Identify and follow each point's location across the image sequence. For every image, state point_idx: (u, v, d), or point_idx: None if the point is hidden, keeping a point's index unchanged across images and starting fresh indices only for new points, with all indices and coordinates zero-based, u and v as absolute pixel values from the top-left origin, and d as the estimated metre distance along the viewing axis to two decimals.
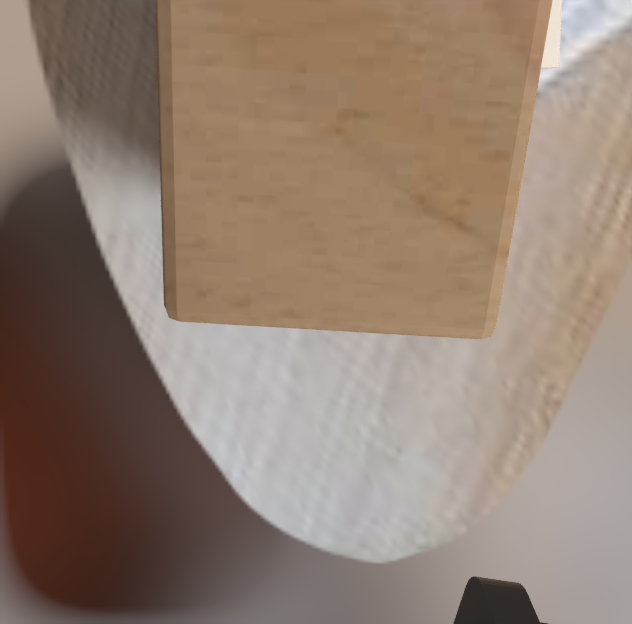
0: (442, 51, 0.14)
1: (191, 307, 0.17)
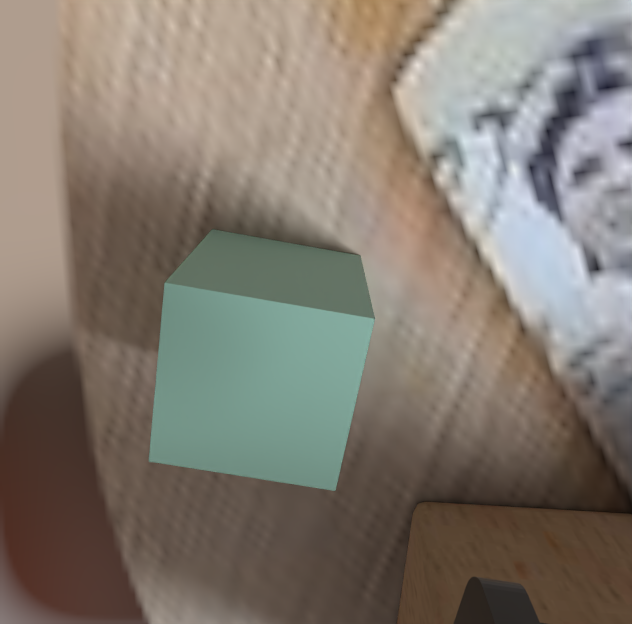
0: None
1: None
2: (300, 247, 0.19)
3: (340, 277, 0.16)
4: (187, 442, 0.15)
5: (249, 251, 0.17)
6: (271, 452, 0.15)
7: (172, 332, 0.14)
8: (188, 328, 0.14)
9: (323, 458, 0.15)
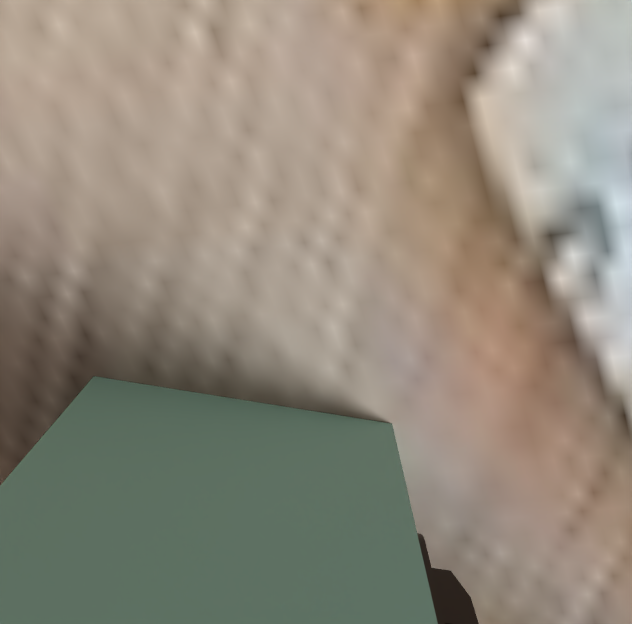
0: None
1: None
2: (271, 415, 0.09)
3: (361, 546, 0.07)
4: None
5: (152, 457, 0.08)
6: None
7: None
8: None
9: None
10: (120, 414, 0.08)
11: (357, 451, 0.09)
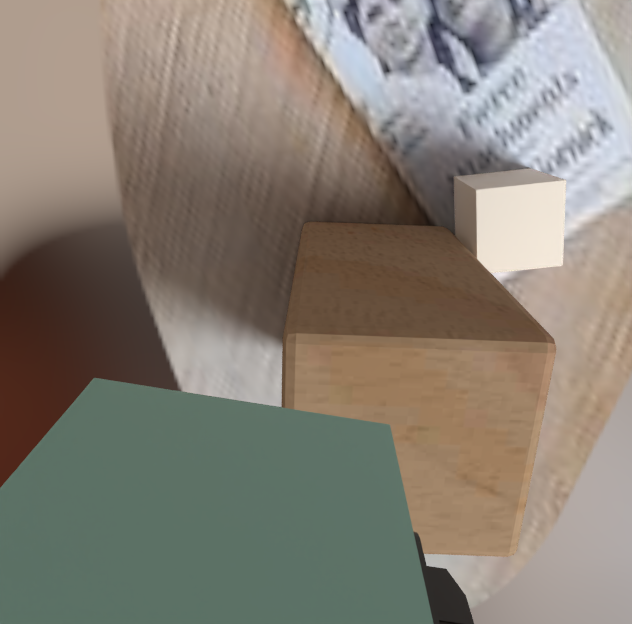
0: (479, 392, 0.21)
1: None
2: (270, 417, 0.09)
3: (358, 549, 0.07)
4: None
5: (151, 459, 0.08)
6: None
7: None
8: None
9: None
10: (119, 417, 0.09)
11: (355, 454, 0.09)
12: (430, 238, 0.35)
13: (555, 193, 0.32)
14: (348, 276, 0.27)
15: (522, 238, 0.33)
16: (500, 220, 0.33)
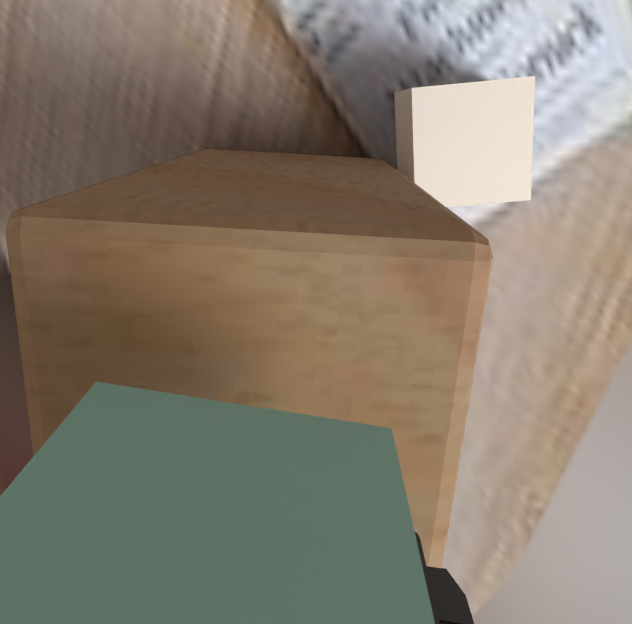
0: (357, 333, 0.12)
1: None
2: (272, 421, 0.09)
3: (360, 554, 0.07)
4: None
5: (153, 464, 0.08)
6: None
7: None
8: None
9: None
10: (121, 421, 0.09)
11: (357, 457, 0.09)
12: (355, 163, 0.26)
13: (520, 95, 0.23)
14: (198, 177, 0.18)
15: (475, 159, 0.24)
16: (445, 133, 0.24)
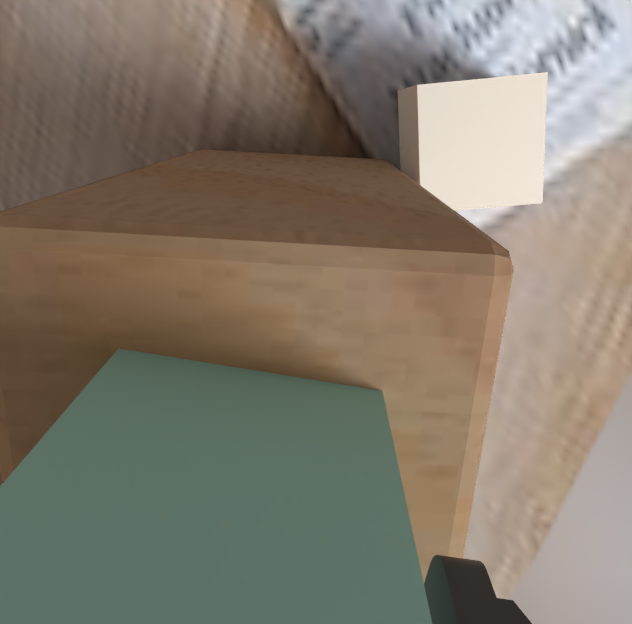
0: (362, 356, 0.11)
1: None
2: (275, 383, 0.10)
3: (351, 484, 0.08)
4: None
5: (172, 413, 0.09)
6: None
7: None
8: None
9: None
10: (143, 380, 0.10)
11: (351, 413, 0.10)
12: (357, 164, 0.25)
13: (532, 92, 0.22)
14: (188, 179, 0.16)
15: (484, 160, 0.23)
16: (452, 133, 0.23)
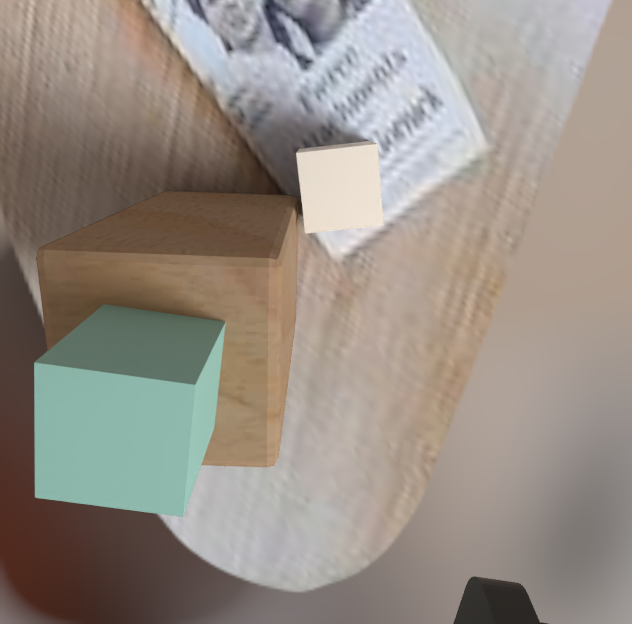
0: (214, 305, 0.23)
1: None
2: (174, 317, 0.23)
3: (191, 346, 0.21)
4: (63, 482, 0.19)
5: (125, 325, 0.22)
6: (130, 487, 0.19)
7: (43, 399, 0.18)
8: (56, 395, 0.18)
9: (170, 491, 0.19)
10: (114, 314, 0.22)
11: (204, 328, 0.23)
12: (266, 201, 0.38)
13: (369, 156, 0.35)
14: (146, 220, 0.29)
15: (343, 198, 0.36)
16: (321, 182, 0.36)
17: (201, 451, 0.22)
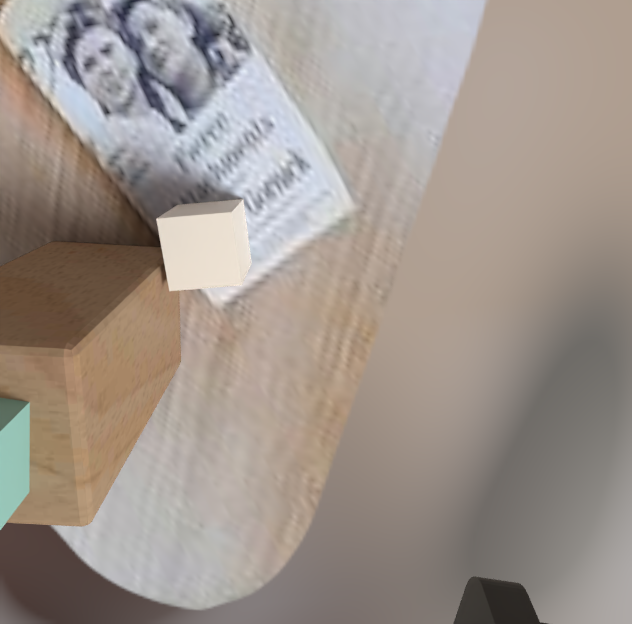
0: (18, 388, 0.26)
1: None
2: None
3: None
4: None
5: None
6: None
7: None
8: None
9: None
10: None
11: (3, 411, 0.25)
12: (136, 258, 0.40)
13: (224, 223, 0.38)
14: None
15: (202, 260, 0.38)
16: (181, 245, 0.38)
17: None
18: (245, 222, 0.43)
